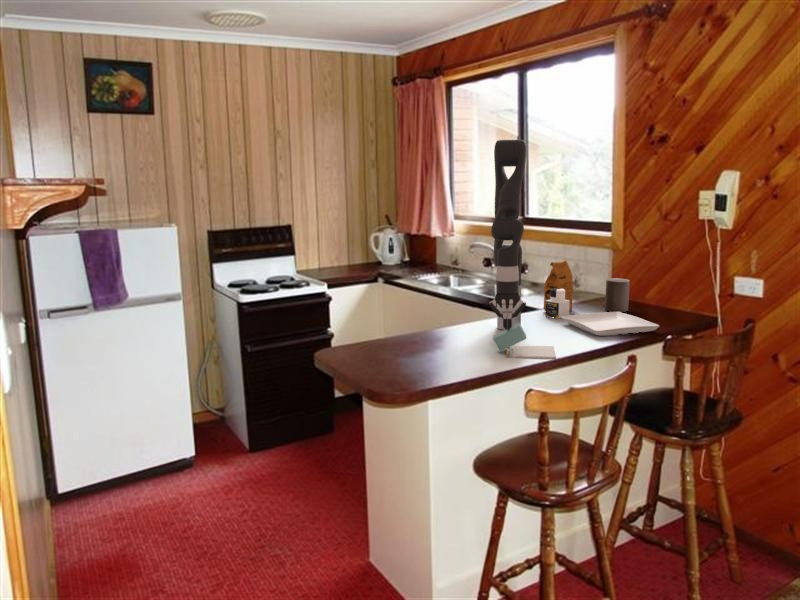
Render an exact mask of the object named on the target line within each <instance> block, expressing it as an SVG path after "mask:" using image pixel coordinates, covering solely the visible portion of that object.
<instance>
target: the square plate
mask: <svg viewBox="0 0 800 600" xmlns="http://www.w3.org/2000/svg"><path fill="white" fill-rule="evenodd" d="M561 319H562V320H563V321H564V322H565V323H567V324H569V325H572V326H573V327H575V326H576V327H575V328H577V327H578V328H577V329H579V328H581V329H580V330H582V329H583V330H582V331H584V330H586V331H585V332H587V331H588V333H589V332H591V333H590V334H592V333H593V334H592V335H594V334H595V335H594V336H598V335H599V336H601V337H608V336H607V335H612V336H619V335H618V334H622V335H629V334H628V333H633V334H640V333H639V332H642V333H645V332H646V333H648V332H653V331H655V330H657V329H658V328H659V327H660V325H659V324H658V323H654V322H651V321H649V320H645V319H644V318H641V317H638V316H636V315H635V316H634V315H632V314H629V313H628V314H627V313H622V312H607V311H605V312H604V311H603V312H589V313H581V314H573V315H572V314H569V316H561ZM599 336H598V337H599Z"/></svg>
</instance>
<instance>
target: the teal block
mask: <svg viewBox="0 0 800 600" xmlns="http://www.w3.org/2000/svg"><path fill="white" fill-rule="evenodd" d="M526 339H527V334H526V332H525V331H524V328H523V327H522V324H521V325H520V323H517V324H515V325H513V326H512V327H511V328H510V330H501V331H500V332H498V333H496V334H494V335H493V336H492V340H493V342H494V344H495V345H496V347H497V349H498V351H499V352H502V351H505V350H507V348H509V347H510V348H511V347H513V345H518V344H519V343H521V342H523V341H525V340H526Z"/></svg>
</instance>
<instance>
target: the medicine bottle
mask: <svg viewBox="0 0 800 600" xmlns="http://www.w3.org/2000/svg"><path fill="white" fill-rule="evenodd" d="M550 298H551V299H550V300H546V312H545V317H546V316H548V317H547V318H550V317H554V318H553V319H555V318H561V316H570V311H569V303H570V301H569V300H565V290H564V289H562V288H553V289H551V290H550ZM561 319H562V318H561Z"/></svg>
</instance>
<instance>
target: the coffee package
mask: <svg viewBox="0 0 800 600" xmlns="http://www.w3.org/2000/svg"><path fill="white" fill-rule="evenodd" d="M550 266H551V267H552V268H551V270H550V273H549V275H548V276H547V278H546V279H545V282H544V286H543V310H544V312H545V311H546V300H550V299H551V298H550V290H551V289H553V288H562V289H564V290H565V300H569V301H570V303H569V310H570V311H572V310H573V299H574V294H573V293H574V281H573V272H572V270H571V268H570V266H569V264H568V261H567V260H566V259H564V260H562V261H559V262H557V261H554V262H553V261H552V262H551V263H550Z"/></svg>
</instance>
